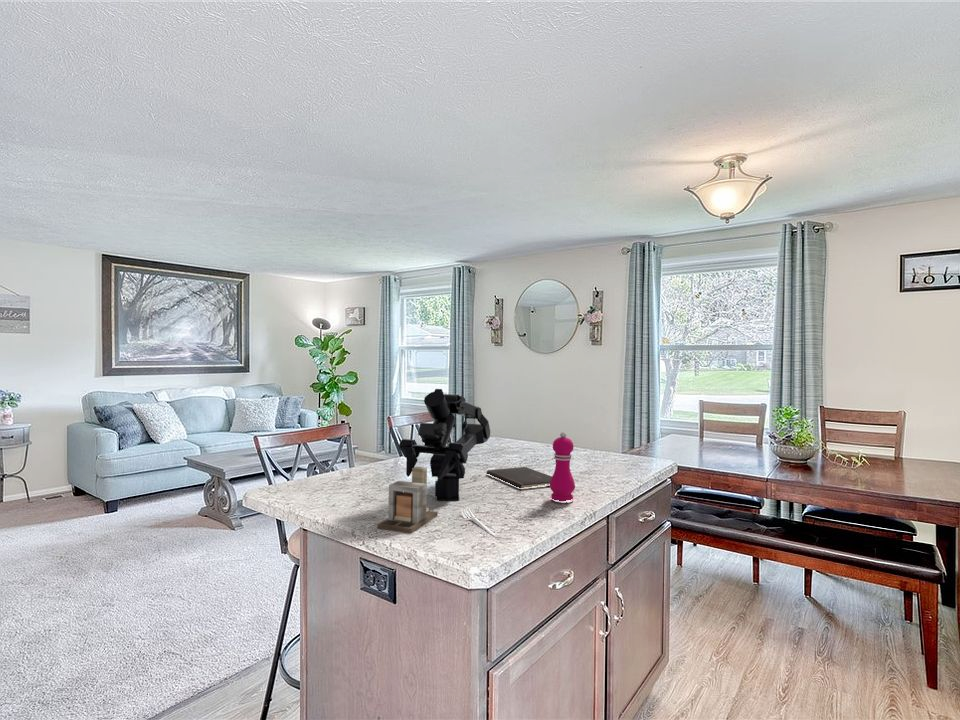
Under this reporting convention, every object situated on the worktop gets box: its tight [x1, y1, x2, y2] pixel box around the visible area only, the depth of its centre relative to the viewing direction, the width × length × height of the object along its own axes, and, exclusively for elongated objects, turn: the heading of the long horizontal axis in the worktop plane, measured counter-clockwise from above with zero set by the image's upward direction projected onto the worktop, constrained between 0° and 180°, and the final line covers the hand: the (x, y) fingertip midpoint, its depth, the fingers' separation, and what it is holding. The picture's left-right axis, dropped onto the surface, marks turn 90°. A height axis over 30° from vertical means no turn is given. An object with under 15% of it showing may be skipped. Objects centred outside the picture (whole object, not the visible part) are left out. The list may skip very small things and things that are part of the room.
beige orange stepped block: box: [394, 466, 430, 522], centre depth 129 cm, size 10×4×11 cm, turn 160°
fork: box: [460, 507, 496, 536], centre depth 126 cm, size 3×20×2 cm, turn 24°
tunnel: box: [376, 480, 439, 534], centre depth 127 cm, size 14×9×9 cm, turn 160°
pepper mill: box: [549, 431, 576, 501], centre depth 149 cm, size 7×7×20 cm
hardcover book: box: [486, 466, 553, 488], centre depth 174 cm, size 16×23×2 cm
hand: (423, 477), depth 134 cm, fingers open, 9 cm apart
